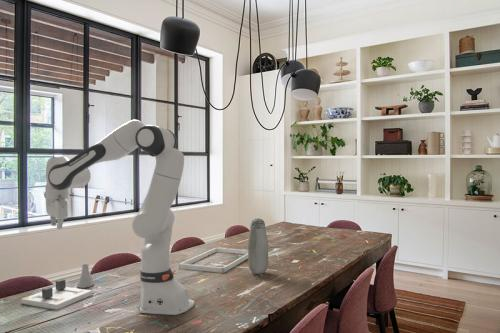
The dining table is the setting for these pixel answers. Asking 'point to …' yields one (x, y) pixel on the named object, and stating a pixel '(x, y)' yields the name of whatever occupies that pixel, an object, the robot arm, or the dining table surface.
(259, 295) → the dining table surface
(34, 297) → the plate
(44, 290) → the block
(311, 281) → the dining table surface
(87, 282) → the flask
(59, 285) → the block
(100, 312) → the dining table surface
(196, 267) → the tray
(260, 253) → the grey bottle
